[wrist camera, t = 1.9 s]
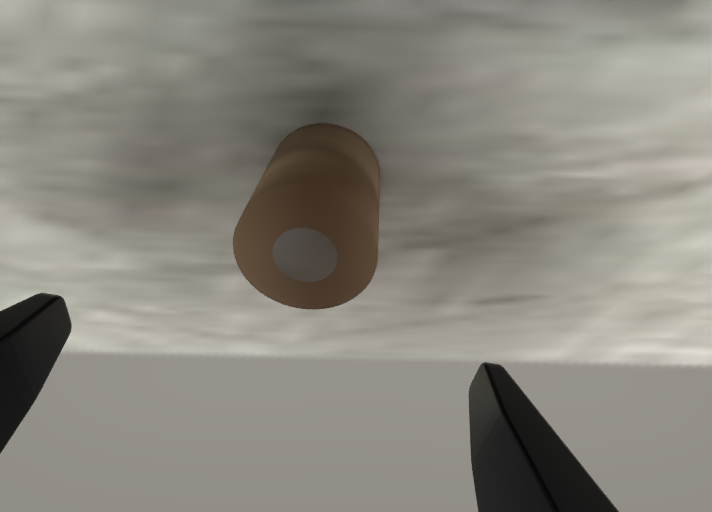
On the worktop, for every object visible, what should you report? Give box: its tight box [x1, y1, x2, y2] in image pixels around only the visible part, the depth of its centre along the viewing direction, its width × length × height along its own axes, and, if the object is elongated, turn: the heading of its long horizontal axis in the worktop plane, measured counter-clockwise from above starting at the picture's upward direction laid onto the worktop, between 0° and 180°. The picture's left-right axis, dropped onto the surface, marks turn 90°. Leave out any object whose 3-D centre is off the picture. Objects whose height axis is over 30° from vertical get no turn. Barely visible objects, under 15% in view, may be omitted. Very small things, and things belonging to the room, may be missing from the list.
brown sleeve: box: [233, 123, 380, 309], centre depth 14 cm, size 4×4×5 cm
